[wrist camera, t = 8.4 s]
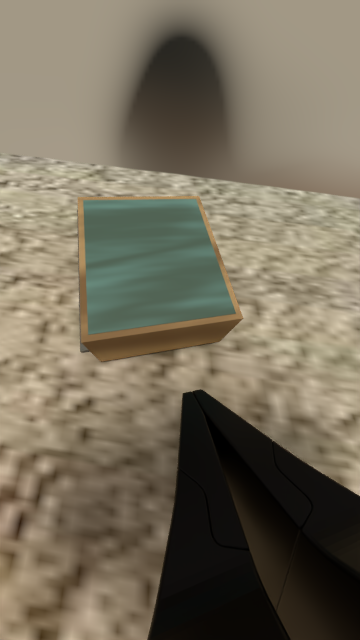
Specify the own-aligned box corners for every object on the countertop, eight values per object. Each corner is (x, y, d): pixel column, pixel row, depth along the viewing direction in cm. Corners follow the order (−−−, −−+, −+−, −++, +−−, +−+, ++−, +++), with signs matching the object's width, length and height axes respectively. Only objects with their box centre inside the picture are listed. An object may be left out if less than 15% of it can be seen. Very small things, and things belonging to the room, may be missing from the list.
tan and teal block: (243, 318, 13) (199, 195, 18) (80, 342, 11) (77, 196, 15) (219, 341, 18) (189, 239, 22) (101, 361, 16) (94, 244, 20)
